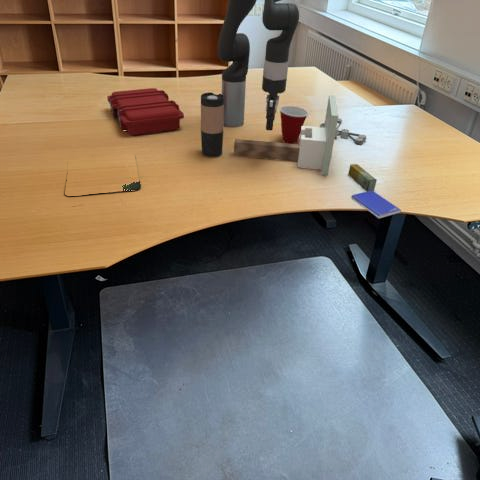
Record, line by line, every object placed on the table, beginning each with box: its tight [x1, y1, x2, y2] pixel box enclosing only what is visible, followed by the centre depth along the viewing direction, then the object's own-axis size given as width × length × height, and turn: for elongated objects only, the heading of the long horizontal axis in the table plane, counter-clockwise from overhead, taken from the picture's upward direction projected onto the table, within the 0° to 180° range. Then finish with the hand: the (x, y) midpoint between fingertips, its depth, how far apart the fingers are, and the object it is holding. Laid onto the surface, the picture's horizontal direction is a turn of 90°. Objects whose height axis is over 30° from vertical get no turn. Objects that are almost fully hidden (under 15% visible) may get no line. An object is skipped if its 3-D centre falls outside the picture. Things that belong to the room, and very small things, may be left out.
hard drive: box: [351, 190, 402, 219], centre depth 129 cm, size 2×8×12 cm
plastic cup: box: [279, 105, 310, 144], centre depth 162 cm, size 11×11×12 cm
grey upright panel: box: [297, 94, 339, 176], centre depth 146 cm, size 10×20×20 cm, turn 173°
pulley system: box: [319, 117, 367, 145], centre depth 174 cm, size 27×5×15 cm
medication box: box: [347, 163, 378, 192], centre depth 140 cm, size 12×3×4 cm, turn 19°
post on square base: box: [233, 137, 308, 163], centre depth 151 cm, size 25×7×7 cm, turn 83°
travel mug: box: [200, 91, 224, 158], centre depth 148 cm, size 8×8×20 cm
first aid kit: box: [106, 87, 185, 136], centre depth 175 cm, size 32×23×9 cm
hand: (270, 124), depth 147 cm, fingers open, 8 cm apart
